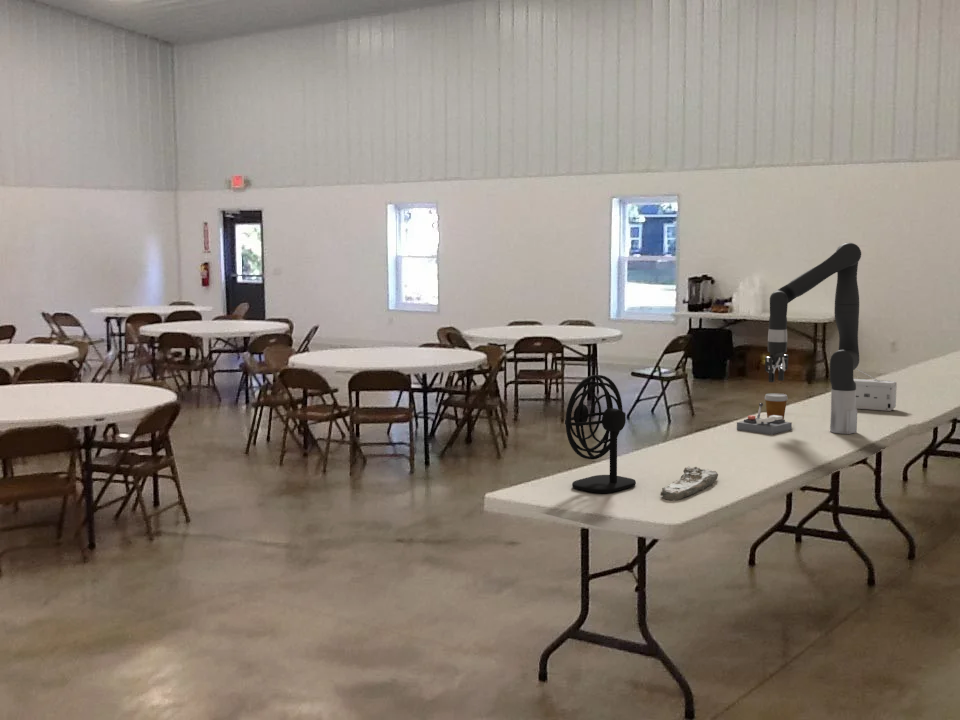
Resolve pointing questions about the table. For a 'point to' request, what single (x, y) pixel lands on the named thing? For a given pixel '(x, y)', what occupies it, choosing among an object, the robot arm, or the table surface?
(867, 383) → the stereo radio cassette player
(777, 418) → the paddle
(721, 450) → the table surface
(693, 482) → the long grey stone
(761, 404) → the toggle
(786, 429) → the panel
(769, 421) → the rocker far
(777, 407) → the disposable coffee cup
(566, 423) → the desk fan
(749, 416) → the button
